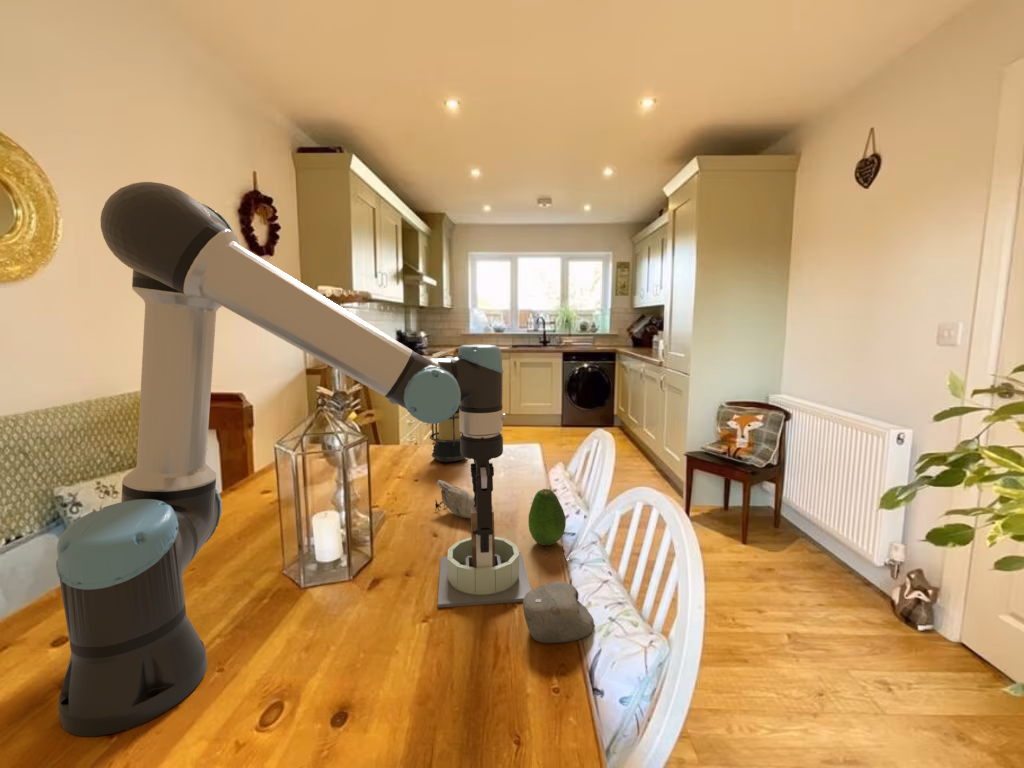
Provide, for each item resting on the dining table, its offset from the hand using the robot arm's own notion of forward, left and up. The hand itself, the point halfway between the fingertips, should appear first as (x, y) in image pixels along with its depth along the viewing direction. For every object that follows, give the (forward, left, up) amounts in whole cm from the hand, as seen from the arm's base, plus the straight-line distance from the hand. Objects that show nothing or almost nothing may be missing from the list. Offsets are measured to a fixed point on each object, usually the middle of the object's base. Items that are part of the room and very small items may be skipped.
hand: (483, 554), depth 88 cm
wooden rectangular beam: (0, 0, -3) cm, 3 cm away
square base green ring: (0, 0, -5) cm, 5 cm away
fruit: (+12, -14, -5) cm, 19 cm away
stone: (-16, -11, -5) cm, 20 cm away
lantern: (+75, +7, -5) cm, 75 cm away
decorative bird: (+28, +4, -5) cm, 29 cm away
